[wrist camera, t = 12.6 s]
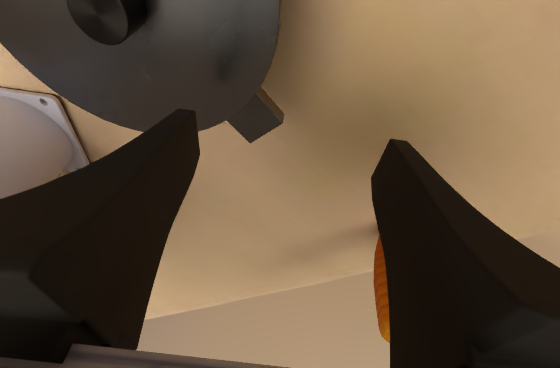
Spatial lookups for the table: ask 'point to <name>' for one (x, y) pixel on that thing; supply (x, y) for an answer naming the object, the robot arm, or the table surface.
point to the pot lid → (146, 54)
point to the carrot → (381, 292)
